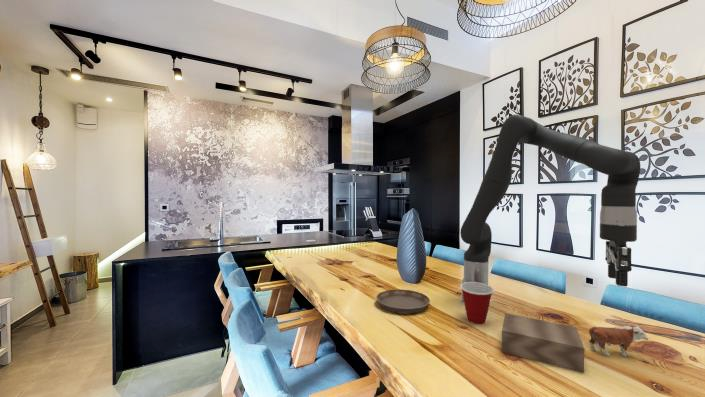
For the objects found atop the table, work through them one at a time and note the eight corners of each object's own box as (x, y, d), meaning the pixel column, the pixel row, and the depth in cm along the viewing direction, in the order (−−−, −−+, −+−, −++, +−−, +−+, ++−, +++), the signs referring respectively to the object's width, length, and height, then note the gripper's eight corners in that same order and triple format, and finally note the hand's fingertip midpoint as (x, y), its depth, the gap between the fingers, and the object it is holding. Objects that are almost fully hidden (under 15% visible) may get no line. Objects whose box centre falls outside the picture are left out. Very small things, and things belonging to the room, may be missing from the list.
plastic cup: (459, 324, 97) (460, 289, 97) (459, 312, 107) (459, 280, 107) (495, 330, 93) (496, 293, 93) (491, 317, 103) (492, 283, 103)
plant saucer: (407, 321, 99) (407, 312, 99) (365, 304, 115) (365, 296, 115) (440, 307, 113) (440, 298, 113) (399, 293, 128) (399, 286, 128)
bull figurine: (651, 361, 76) (652, 330, 76) (593, 355, 79) (593, 325, 79) (638, 352, 80) (639, 323, 80) (583, 347, 83) (584, 318, 83)
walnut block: (501, 351, 80) (501, 330, 80) (504, 332, 92) (505, 313, 92) (584, 372, 70) (584, 348, 70) (576, 347, 82) (576, 326, 82)
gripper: (594, 220, 87) (594, 274, 87) (606, 224, 75) (605, 286, 75) (628, 221, 84) (627, 277, 84) (645, 225, 71) (645, 291, 71)
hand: (617, 281), depth 79 cm, fingers open, 8 cm apart
